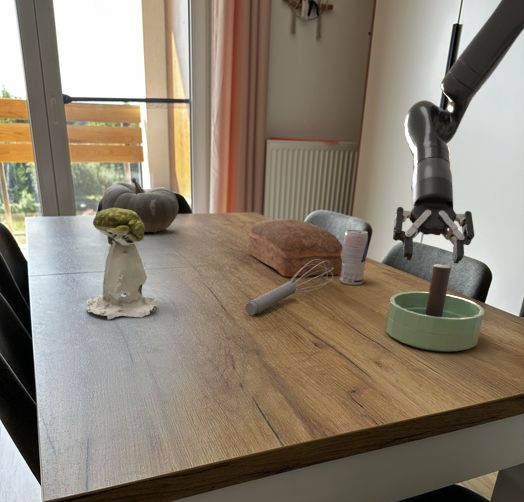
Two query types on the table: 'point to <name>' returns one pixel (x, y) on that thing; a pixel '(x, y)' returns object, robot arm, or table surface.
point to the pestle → (438, 290)
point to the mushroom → (121, 266)
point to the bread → (295, 247)
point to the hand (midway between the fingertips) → (433, 259)
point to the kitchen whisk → (279, 293)
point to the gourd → (143, 204)
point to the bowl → (434, 322)
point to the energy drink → (354, 257)
